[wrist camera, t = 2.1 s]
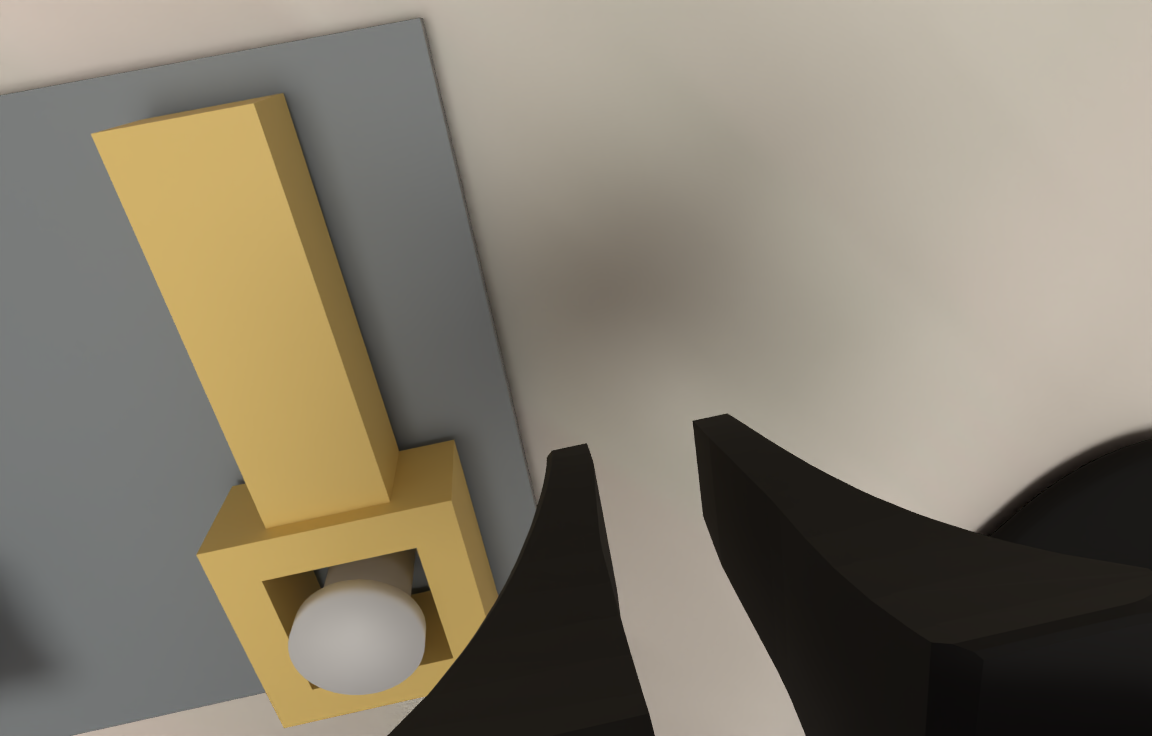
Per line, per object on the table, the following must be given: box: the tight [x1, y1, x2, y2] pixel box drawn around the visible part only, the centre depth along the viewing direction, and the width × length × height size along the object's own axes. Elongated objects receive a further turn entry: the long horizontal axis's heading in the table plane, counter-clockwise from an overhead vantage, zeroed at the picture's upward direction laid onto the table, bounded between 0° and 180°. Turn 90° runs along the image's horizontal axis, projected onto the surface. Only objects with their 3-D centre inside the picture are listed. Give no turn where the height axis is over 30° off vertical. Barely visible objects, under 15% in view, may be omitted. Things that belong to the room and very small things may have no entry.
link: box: [91, 93, 498, 728], centre depth 19 cm, size 16×6×3 cm, turn 9°
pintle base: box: [0, 18, 537, 736], centre depth 19 cm, size 19×22×5 cm
